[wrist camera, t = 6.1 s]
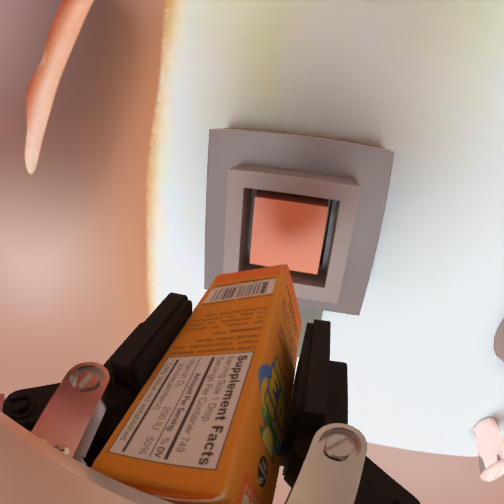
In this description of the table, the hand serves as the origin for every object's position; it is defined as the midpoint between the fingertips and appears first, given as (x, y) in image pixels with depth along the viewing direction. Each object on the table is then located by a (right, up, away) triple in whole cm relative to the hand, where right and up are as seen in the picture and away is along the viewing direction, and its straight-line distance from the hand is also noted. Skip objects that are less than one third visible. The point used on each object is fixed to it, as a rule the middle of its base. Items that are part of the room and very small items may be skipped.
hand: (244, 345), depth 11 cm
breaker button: (+3, +5, +12) cm, 13 cm away
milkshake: (+32, -20, +19) cm, 42 cm away
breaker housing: (+4, +6, +14) cm, 16 cm away
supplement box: (+1, +1, +3) cm, 3 cm away
